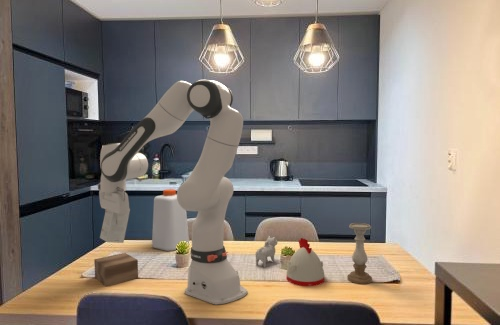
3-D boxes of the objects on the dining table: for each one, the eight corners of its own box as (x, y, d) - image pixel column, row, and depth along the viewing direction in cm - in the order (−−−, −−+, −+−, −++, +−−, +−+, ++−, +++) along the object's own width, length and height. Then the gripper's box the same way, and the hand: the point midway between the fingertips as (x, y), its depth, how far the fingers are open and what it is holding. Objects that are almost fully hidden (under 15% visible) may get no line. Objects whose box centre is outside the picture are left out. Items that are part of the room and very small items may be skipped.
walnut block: (138, 278, 139) (137, 259, 138) (106, 286, 131) (105, 267, 131) (125, 269, 148) (125, 252, 148) (94, 277, 140) (94, 259, 140)
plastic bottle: (192, 244, 183) (191, 189, 182) (170, 252, 171) (168, 192, 169) (171, 240, 192) (170, 187, 190) (148, 247, 179) (146, 190, 178)
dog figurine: (280, 259, 159) (280, 235, 158) (264, 268, 148) (264, 242, 148) (270, 257, 162) (270, 233, 161) (253, 265, 151) (253, 240, 151)
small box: (123, 243, 137) (130, 208, 138) (106, 242, 133) (114, 206, 134) (115, 239, 143) (122, 205, 144) (99, 238, 139) (106, 204, 140)
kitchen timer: (312, 270, 145) (311, 233, 144) (331, 282, 132) (331, 241, 131) (280, 275, 140) (280, 236, 139) (297, 288, 127) (297, 246, 126)
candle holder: (342, 277, 137) (342, 223, 136) (361, 274, 140) (362, 221, 139) (357, 285, 129) (357, 228, 128) (377, 282, 132) (377, 226, 131)
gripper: (133, 188, 132) (134, 226, 133) (112, 183, 147) (113, 217, 148) (115, 189, 128) (116, 228, 128) (96, 184, 143) (97, 219, 144)
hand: (114, 222), depth 138 cm, fingers closed on small box, 8 cm apart
